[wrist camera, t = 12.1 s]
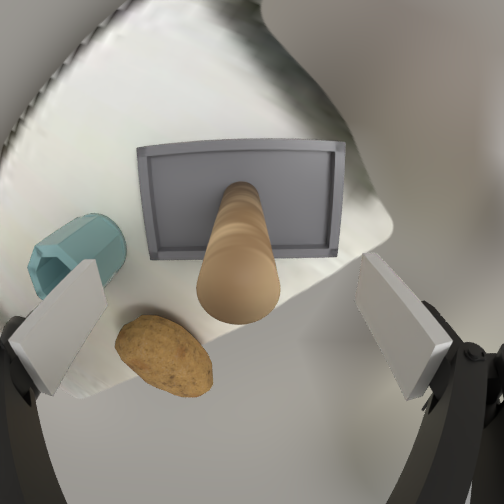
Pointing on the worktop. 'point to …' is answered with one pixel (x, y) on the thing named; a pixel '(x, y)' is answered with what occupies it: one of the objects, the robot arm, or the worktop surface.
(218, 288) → the dowel
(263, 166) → the tray
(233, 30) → the worktop surface
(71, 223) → the cup
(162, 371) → the potato
